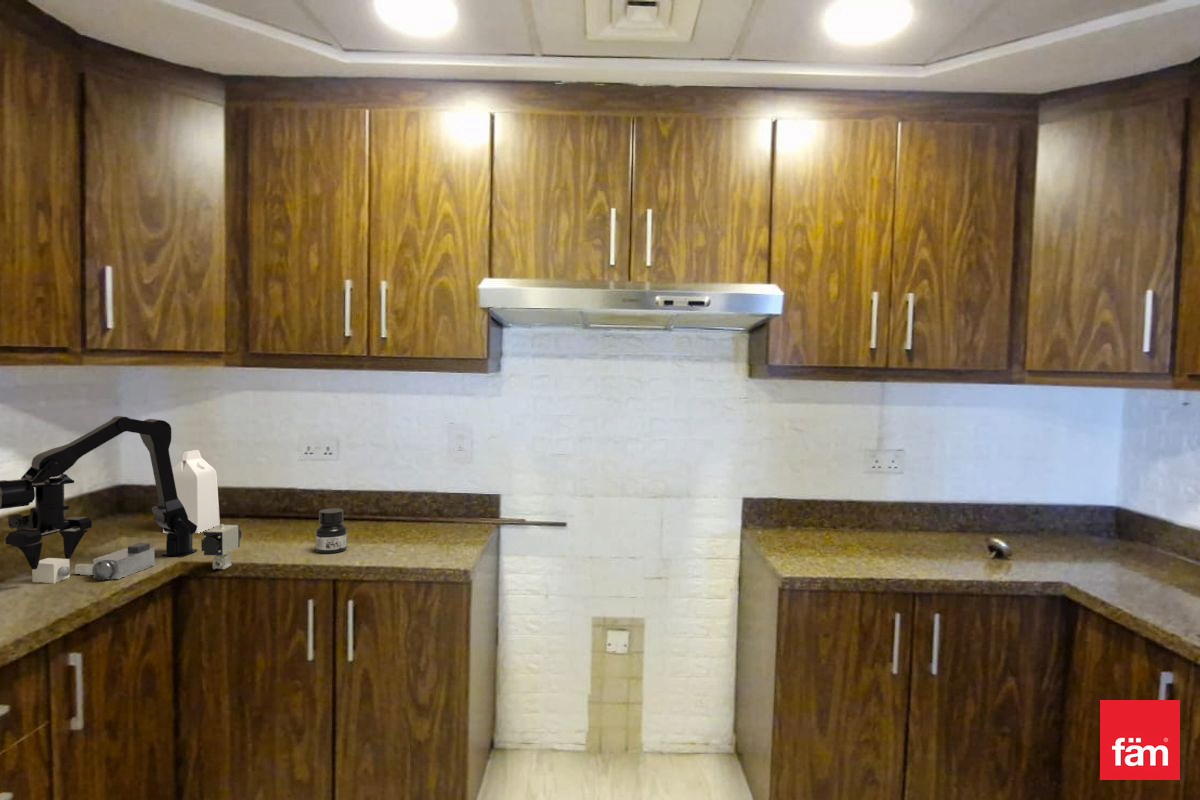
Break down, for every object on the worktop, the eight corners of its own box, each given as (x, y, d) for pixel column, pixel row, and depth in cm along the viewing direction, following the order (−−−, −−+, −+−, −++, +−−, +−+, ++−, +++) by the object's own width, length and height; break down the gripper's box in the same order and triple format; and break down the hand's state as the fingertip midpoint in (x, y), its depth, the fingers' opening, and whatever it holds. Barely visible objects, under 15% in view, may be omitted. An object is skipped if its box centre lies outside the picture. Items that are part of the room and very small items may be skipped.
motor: (107, 563, 187) (107, 539, 187) (154, 566, 185) (154, 542, 185) (63, 578, 173) (62, 553, 173) (113, 581, 172) (112, 556, 172)
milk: (186, 524, 232) (186, 448, 231) (219, 525, 232) (219, 449, 231) (163, 532, 220) (162, 452, 219) (197, 533, 220) (196, 453, 219)
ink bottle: (313, 555, 199) (313, 514, 198) (314, 547, 207) (314, 508, 206) (348, 552, 202) (348, 512, 202) (348, 545, 211) (348, 506, 210)
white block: (48, 576, 175) (48, 557, 175) (73, 578, 174) (73, 559, 174) (32, 582, 170) (32, 562, 170) (58, 584, 170) (57, 564, 169)
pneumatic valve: (242, 561, 191) (242, 519, 190) (218, 574, 179) (217, 529, 179) (223, 561, 191) (222, 519, 190) (197, 574, 179) (197, 529, 179)
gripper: (55, 494, 182) (56, 552, 182) (-16, 509, 163) (-15, 573, 164) (92, 496, 180) (94, 554, 181) (25, 511, 162) (27, 575, 163)
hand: (51, 563), depth 172 cm, fingers open, 9 cm apart
